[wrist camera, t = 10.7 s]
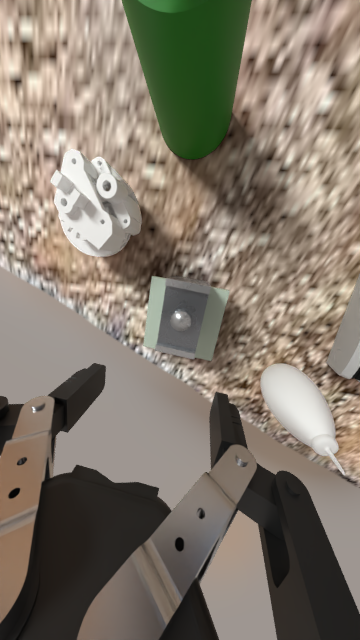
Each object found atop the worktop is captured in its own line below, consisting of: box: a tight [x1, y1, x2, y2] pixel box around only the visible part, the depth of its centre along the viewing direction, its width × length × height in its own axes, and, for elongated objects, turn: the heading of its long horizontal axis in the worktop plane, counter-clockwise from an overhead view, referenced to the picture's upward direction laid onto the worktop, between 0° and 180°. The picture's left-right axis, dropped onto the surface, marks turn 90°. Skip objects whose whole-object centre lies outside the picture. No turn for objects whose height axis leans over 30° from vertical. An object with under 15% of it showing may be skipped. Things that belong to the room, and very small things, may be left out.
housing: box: [155, 276, 211, 359], centre depth 24 cm, size 5×9×8 cm, turn 169°
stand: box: [143, 276, 229, 361], centre depth 31 cm, size 12×12×5 cm
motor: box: [122, 0, 252, 159], centre depth 16 cm, size 10×9×20 cm
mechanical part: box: [50, 149, 142, 257], centre depth 25 cm, size 11×12×12 cm
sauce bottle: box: [260, 363, 345, 475], centre depth 26 cm, size 8×8×18 cm
